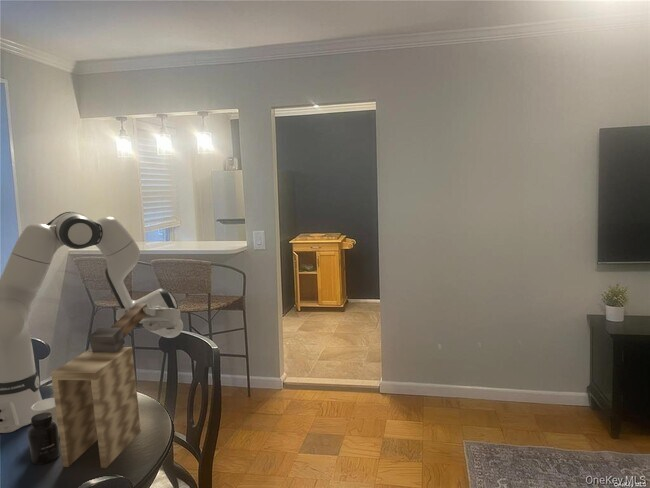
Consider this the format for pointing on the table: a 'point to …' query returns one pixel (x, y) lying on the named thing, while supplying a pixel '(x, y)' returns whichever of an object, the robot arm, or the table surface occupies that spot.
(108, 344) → the mallet
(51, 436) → the supplement bottle
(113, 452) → the stand
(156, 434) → the table surface
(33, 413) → the white cup
